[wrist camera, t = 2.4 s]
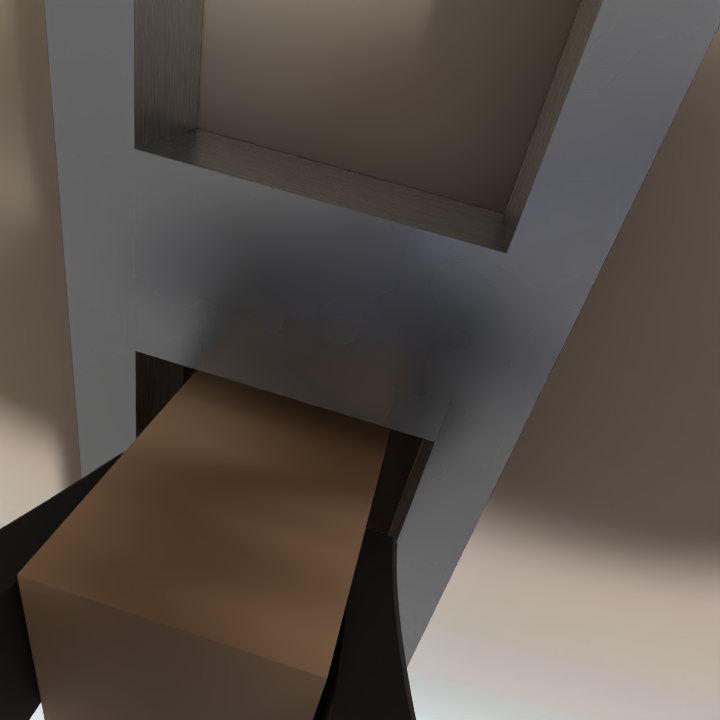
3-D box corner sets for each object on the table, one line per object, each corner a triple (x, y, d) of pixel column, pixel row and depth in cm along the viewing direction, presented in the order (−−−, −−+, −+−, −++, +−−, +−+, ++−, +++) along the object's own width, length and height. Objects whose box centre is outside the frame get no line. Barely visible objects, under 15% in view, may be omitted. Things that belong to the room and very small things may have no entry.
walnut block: (399, 398, 12) (327, 678, 7) (358, 524, 14) (281, 810, 9) (219, 344, 12) (16, 574, 7) (207, 476, 14) (46, 727, 9)
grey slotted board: (927, -555, 5) (1193, -915, 3) (341, 762, 20) (325, 840, 18) (122, -702, 6) (-72, -1089, 4) (135, 691, 21) (97, 759, 19)
